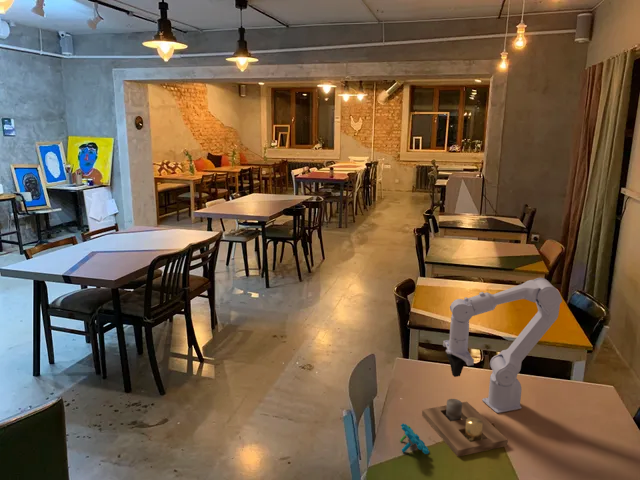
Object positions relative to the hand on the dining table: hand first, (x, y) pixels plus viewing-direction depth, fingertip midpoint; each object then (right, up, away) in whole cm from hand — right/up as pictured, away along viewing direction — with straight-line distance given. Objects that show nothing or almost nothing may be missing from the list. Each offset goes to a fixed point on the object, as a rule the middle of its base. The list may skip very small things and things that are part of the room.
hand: (456, 375), depth 152 cm
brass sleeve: (0, -14, -17) cm, 22 cm away
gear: (-18, -15, -21) cm, 31 cm away
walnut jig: (-2, -13, -13) cm, 18 cm away
